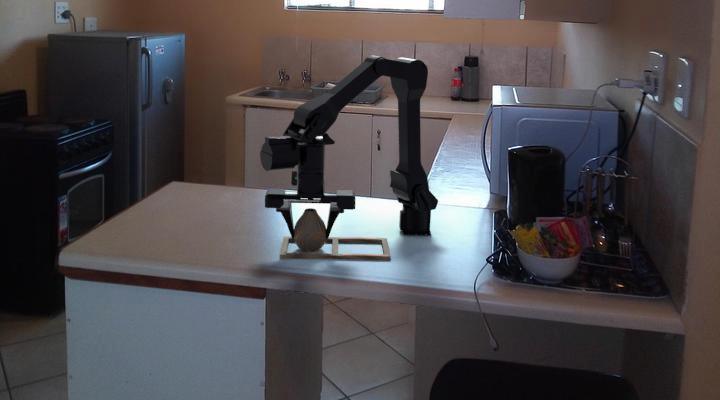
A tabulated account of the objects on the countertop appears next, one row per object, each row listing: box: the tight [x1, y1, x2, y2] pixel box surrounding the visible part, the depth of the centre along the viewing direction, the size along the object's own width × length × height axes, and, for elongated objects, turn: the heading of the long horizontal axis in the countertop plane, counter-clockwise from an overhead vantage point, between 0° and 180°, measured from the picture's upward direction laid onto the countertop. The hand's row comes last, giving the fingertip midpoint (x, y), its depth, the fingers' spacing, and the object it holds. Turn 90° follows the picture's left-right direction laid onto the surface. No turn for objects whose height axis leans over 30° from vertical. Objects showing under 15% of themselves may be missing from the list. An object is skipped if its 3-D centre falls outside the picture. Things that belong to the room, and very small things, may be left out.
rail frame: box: [279, 236, 392, 261], centre depth 163 cm, size 23×12×1 cm, turn 92°
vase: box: [294, 207, 327, 253], centre depth 162 cm, size 7×7×9 cm
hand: (310, 237), depth 163 cm, fingers closed on vase, 7 cm apart
